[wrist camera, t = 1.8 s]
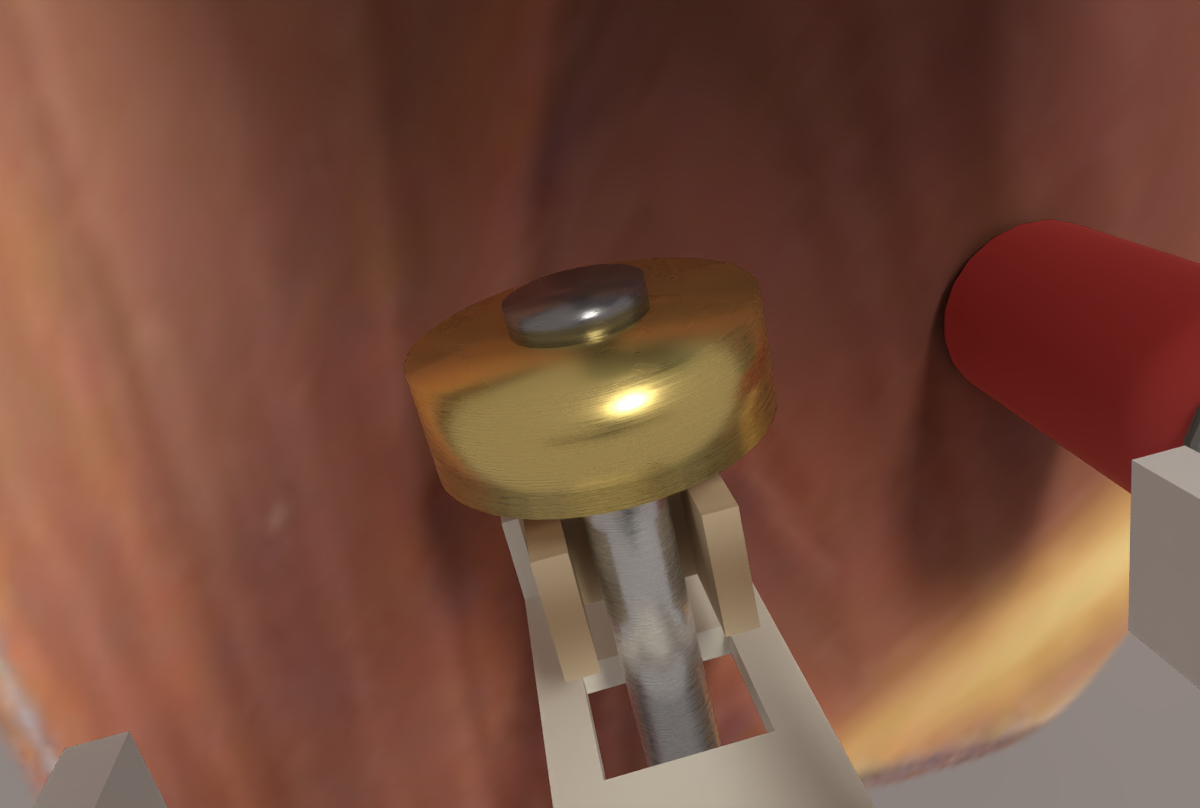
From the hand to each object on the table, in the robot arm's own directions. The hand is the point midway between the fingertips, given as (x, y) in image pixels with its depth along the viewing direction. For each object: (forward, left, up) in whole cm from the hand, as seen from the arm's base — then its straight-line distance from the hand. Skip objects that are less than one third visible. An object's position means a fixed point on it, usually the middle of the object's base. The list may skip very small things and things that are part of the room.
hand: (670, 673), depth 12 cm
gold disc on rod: (+7, +1, -17) cm, 18 cm away
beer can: (+6, +17, -21) cm, 27 cm away
